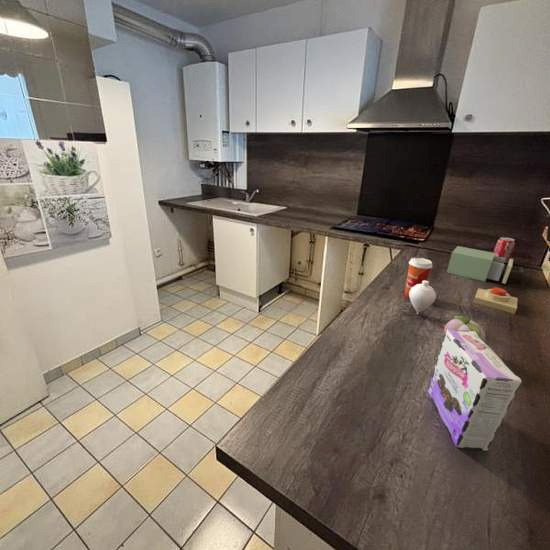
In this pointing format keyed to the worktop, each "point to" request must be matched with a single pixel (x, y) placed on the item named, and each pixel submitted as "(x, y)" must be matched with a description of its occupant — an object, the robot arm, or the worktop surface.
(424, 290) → the spinning top
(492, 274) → the drawer
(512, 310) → the block
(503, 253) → the soda can
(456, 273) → the cabinet
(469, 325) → the decorative fruit
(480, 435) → the candy box
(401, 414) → the worktop surface
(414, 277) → the paper cup
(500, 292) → the button
